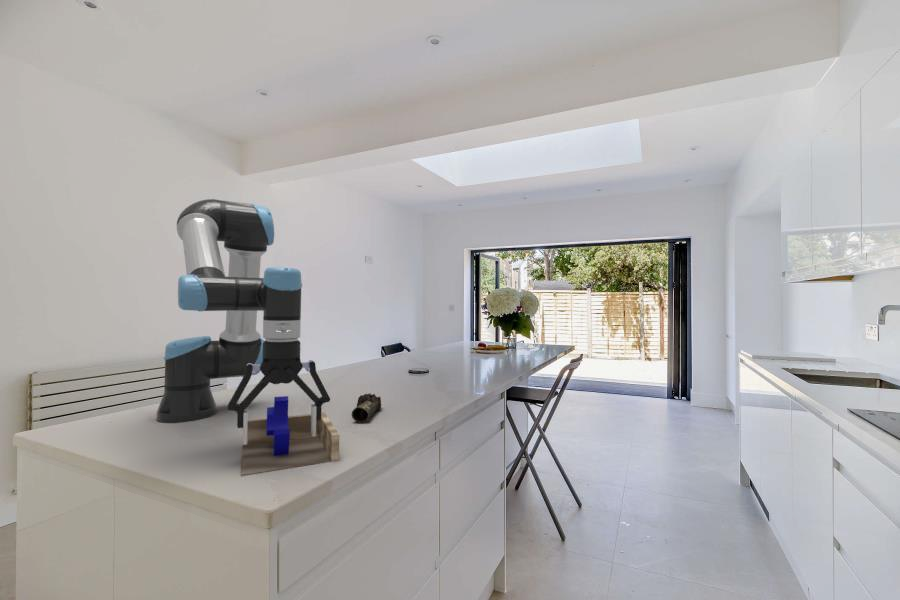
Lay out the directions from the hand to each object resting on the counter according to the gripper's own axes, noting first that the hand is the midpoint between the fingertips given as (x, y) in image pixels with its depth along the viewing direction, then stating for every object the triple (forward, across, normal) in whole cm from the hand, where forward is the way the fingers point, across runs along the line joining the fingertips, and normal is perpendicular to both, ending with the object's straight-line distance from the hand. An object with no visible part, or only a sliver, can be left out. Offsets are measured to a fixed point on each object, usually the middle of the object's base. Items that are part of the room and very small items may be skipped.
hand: (280, 438), depth 91 cm
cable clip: (+1, 0, +6) cm, 6 cm away
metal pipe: (+7, +23, +21) cm, 32 cm away
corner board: (+4, +1, +2) cm, 5 cm away
